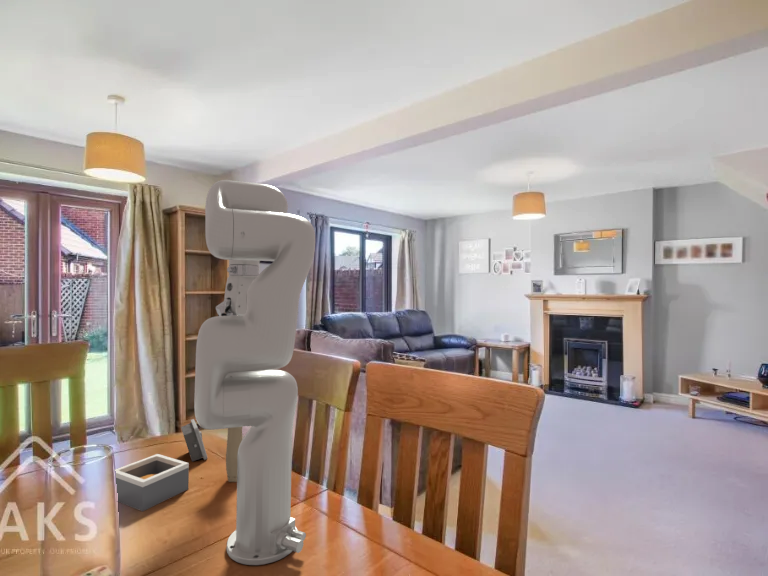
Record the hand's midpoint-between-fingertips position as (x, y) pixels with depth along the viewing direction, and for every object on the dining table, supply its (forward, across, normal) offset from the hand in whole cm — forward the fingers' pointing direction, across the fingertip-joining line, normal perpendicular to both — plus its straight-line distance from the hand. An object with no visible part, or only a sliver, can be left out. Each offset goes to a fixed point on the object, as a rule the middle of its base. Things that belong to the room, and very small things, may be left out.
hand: (243, 337), depth 112 cm
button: (+32, -22, +5) cm, 39 cm away
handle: (+34, -8, -6) cm, 35 cm away
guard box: (+33, -22, +5) cm, 40 cm away
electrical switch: (+34, -3, +14) cm, 37 cm away
